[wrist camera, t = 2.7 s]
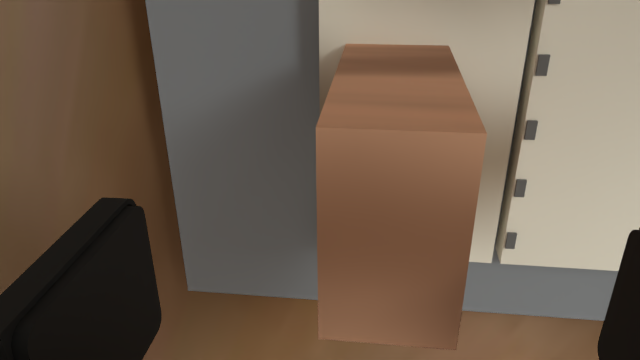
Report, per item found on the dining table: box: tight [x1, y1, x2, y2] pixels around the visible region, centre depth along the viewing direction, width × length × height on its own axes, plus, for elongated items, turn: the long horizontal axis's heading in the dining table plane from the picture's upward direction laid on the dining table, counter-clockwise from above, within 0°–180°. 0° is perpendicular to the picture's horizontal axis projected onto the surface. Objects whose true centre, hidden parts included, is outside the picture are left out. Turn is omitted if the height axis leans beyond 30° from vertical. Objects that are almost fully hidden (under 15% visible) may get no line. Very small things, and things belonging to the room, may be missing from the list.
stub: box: [316, 0, 535, 350], centre depth 14 cm, size 10×6×8 cm, turn 0°
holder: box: [145, 0, 640, 321], centre depth 16 cm, size 16×26×5 cm, turn 90°
